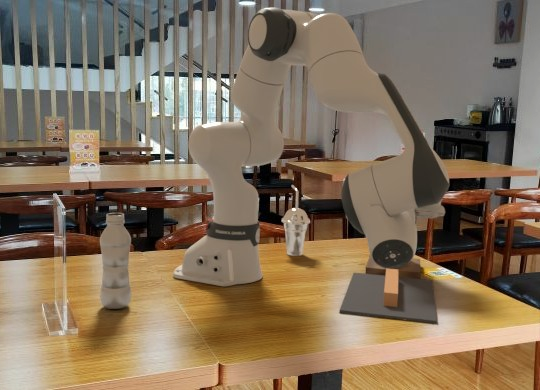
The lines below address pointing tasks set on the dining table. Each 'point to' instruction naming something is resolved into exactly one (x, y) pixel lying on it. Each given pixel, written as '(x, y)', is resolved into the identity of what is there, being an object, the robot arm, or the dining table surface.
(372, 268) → the walnut stand
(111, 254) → the plastic bottle
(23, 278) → the dining table surface
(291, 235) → the cup with straw
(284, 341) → the dining table surface
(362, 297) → the rubber mat
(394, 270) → the orange square bar
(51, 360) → the dining table surface
